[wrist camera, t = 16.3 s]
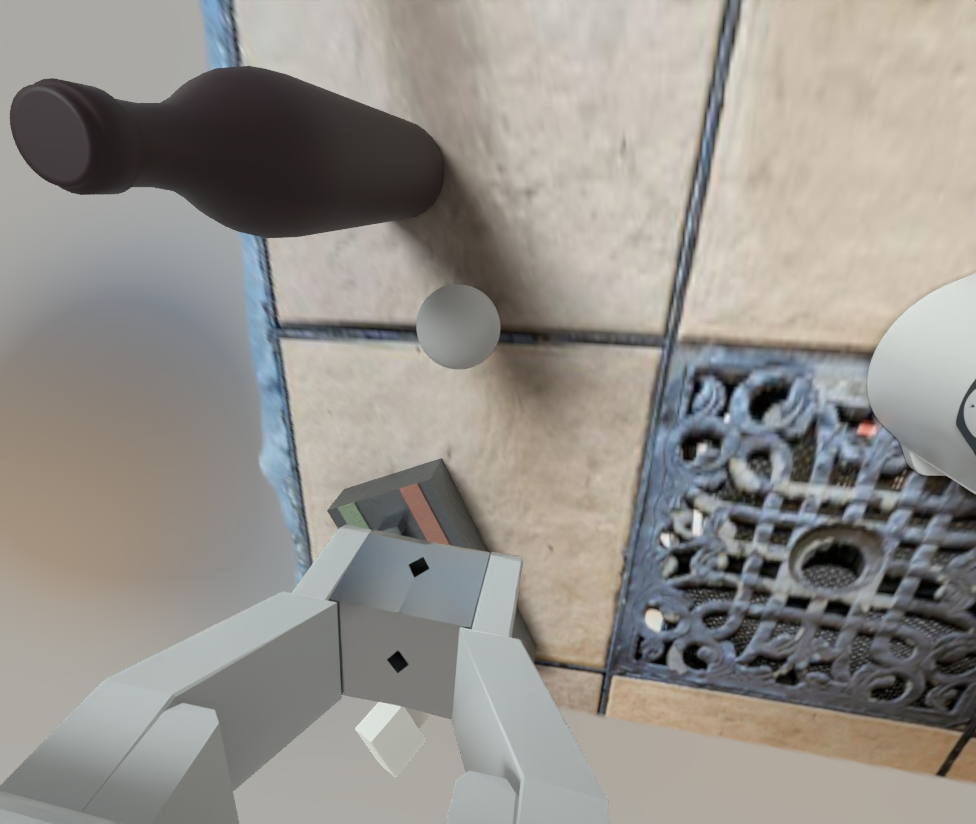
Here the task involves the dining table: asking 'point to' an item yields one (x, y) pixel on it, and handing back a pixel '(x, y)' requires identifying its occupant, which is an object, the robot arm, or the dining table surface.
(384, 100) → the dining table surface
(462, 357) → the lightbulb
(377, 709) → the on lever
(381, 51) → the dining table surface
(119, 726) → the robot arm
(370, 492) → the breaker box
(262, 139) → the wine bottle
